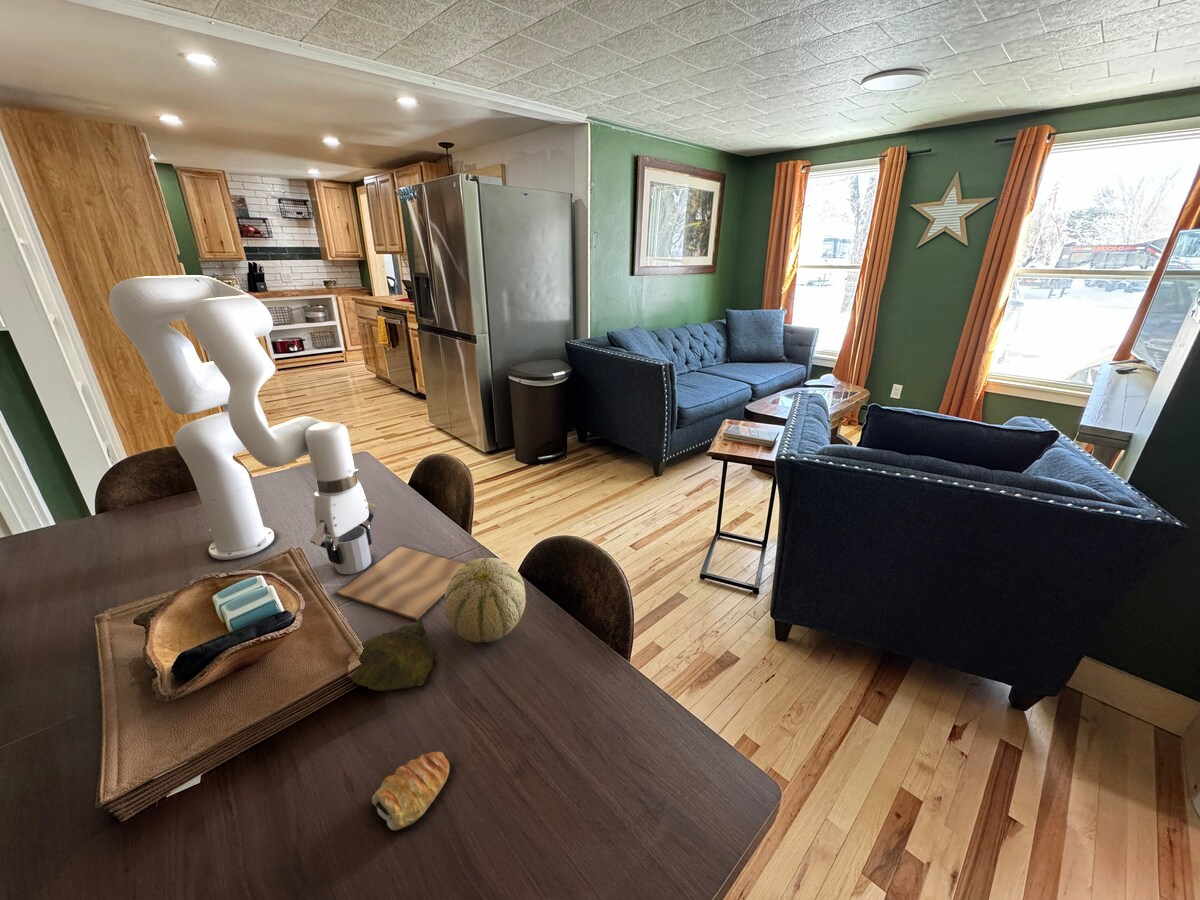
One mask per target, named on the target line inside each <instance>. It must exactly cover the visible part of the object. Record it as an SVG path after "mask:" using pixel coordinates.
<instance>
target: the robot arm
mask: <svg viewBox="0 0 1200 900" xmlns="http://www.w3.org/2000/svg"><path fill="white" fill-rule="evenodd" d="M108 296H109V297H108V304H109V309H110V312H111V315H112V317H113V319H114V321H115V322H116V323H115V324H117V326H118V327H119V329H120V330H121V332H122V333H123V334H124V335H125V336H126V337H127V338H128V340H129V341H130V342H131V344H132V345H133V346H134V348H135V349H136V351H137V352H138V354H139V355H140V357H141V359H142V361H143V363H144V365H145V367H146V369H147V371H148V374H149V375H150V377H151V379H152V381H153V383H154V385H155V387H156V390H157V391H158V393H159V395H160V397H161V399H162V400H163V402H164V403H165V405H166V406H167V407H168V409H169V410H171V412H174V413H176V414H178V415H190V414H191V415H192V414H197V413H200V412H204V411H207V410H211V409H215V408H218V407H222V409H223V410H224V411H220V412H217V413H214V414H210V415H206V416H203V417H200V418H197V419H195V420H192V421H189V422H187V423H185V424H183V425H182V426H181V427H180V428H178V430H177V431H176V432H175V434H174V445H175V447H176V449H177V451H178V453H179V455H180V456H181V458H182V459H183V461H184V463H185V464H186V466H187V468H188V470H189V472H190V475H191V477H192V479H193V482H194V484H195V487H196V491H197V493H198V496H199V499H200V502H201V505H202V508H203V510H204V511H203V512H204V514H205V517H206V520H207V523H208V526H209V528H208V530H207V532H208V533H210V534H211V535H212V537H213V541H212V543H211V544H210V545H209V547H208V553H209V555H210V557H212V558H213V559H216V560H222V561H223V560H225V561H226V560H228V561H229V560H236V559H241V558H245V557H248V556H251V555H254V554H256V553H258V552H260V551H262V550H264V549H265V548H267V547H269V546H270V545H271V544H272V543H273V541H274V539H275V533H274V531H273V530H272V529H271V528H269V527H266V526H265V525H264V523H263V519H262V516H261V512H260V508H259V506H258V502H257V498H256V495H255V491H254V487H253V484H252V480H251V478H250V475H249V472H248V470H247V469H246V468H245V466H243V465H241V464H240V463H239V462H238V461H236V460H235V459H234V456H235V455H237V454H239V453H241V452H244V451H247V452H248V453H249V454H250V456H251V457H252V458H253V459H254V460H256V461H257V462H258V463H259V464H261V465H262V466H264V467H267V468H280V467H283V466H286V465H287V464H289V463H292V462H294V461H295V460H298V459H300V458H302V457H305V456H309V460H310V465H311V469H312V473H313V477H314V482H315V486H316V491H315V492H314V493H313V515H314V522H315V526H316V529H315V531H314V533H313V534H312V536H311V538H310V540H309V542H310V543H311V544H313V545H316V546H317V547H319V548H320V547H321V548H323V549H326V553H327V557H328V560H329V562H330V563H332V564H334V563H336V564H339V565H341V564H342V563H343V558H342V554H341V549H340V548H338V547H337V546H338V542H339V538H340V536H341V535H343V534H345V533H346V532H348V531H350V530H351V529H353V528H355V527H356V526H362V527H364V528H365V529H366V532H367V538H368V543H369V546H370V545H372V544H373V542H372V535H371V531H370V529H371V528H372V521H373V520H374V519H373V518H374V514H375V513H376V510H377V509H376V508H377V504H373V503H369V502H368V501H367V498H366V494H365V492H364V489H363V486H362V484H361V482H360V481H359V480H358V478H357V473H359V468H358V467H356V466H355V462H354V457H353V451H352V446H351V442H350V441H351V440H350V436H349V431H348V428H347V427H346V426H345V424H343V423H342V422H336V421H323V420H321V419H318V418H317V417H316V418H315V417H312V416H308V415H307V416H305V415H304V416H298V417H296V418H293V419H291V420H288V421H285V422H282V423H279V424H276V425H273V426H272V427H269V423H268V422H269V421H268V420H267V417H266V415H265V413H264V410H263V408H262V405H261V404H260V401H259V398H258V394H259V391H260V390H261V388H262V386H263V385H264V384H265V383H266V382H268V381H269V380H270V379H271V378H272V377H273V376H274V375H275V373H276V365H275V363H274V361H272V359H271V358H270V356H269V355H268V353H267V352H266V351H265V349H264V347H263V346H262V345H261V343H260V342H259V340H258V338H262V337H265V336H267V335H269V334H270V333H271V332H272V330H273V327H274V320H273V316H272V313H271V312H270V311H269V309H268V307H266V305H265V304H264V303H263V302H262V301H260V300H259V299H257V298H256V297H255V296H253V295H251V294H249V293H248V292H246V291H243V290H241V289H239V288H237V287H234V286H232V285H229V284H228V283H225V282H223V281H221V280H218V279H216V278H213V277H210V276H207V275H200V274H199V275H197V274H196V275H195V274H193V275H190V274H189V275H152V276H151V275H149V276H137V277H131V278H127V279H124V280H121V281H119V282H117V283H116V284H115V285H113V287H112V288H111V289H110V292H109V295H108ZM175 322H185V323H186V325H187V327H188V329H189V330H190V332H191V333H192V334H193V336H194V337H195V338H196V340H197V342H199V344H200V345H201V347H202V348H203V350H204V351H205V352H206V354H207V355H208V357H209V358H210V360H211V361H206V362H203V361H202V360H201V358H200V357H199V355H198V353H197V351H196V348H195V346H194V344H193V343H192V342H191V341H190V339H189V338H188V337H187V336H186V335H184V334H183V333H182V332H181V331H179V330H177V328H175V327H174V326H171V325H170V323H175ZM323 537H324V538H323ZM331 537H332V538H333V540H332V544H331V543H330V540H331Z"/></svg>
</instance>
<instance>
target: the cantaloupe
mask: <svg viewBox="0 0 1200 900" xmlns="http://www.w3.org/2000/svg"><path fill="white" fill-rule="evenodd" d="M464 564H465V565H464V566H463V567H461V568H460V569H459V570H458V571H457V572H456V574H455V575H454V576H453V578H452V579H451V581H450V583H449V584H448V586H447V589H446V593H445V594H444V601H443V603H444V615H445V619H446V621H447V623H448V624H449V626H450V628H451V630H452V631H453V632H454V633H456V634H457V635H459V636H460V637H461V638H463V639H465V640H467V641H470V642H473V643H483V642H484V643H488V642H495V641H497V640H501V638H504V637H506V636H507V635H509V633H511V632H512V631H513V630H514V629H515V628H516V626H517V625H518V623H519V622H520V620H521V618H522V617H523V614H524V612H525V608H526V603H527V602H526V601H527V600H526V599H527V597H526V587H525V582H524V580H523V577H522V575H521V573H520V572H519V571H518V570H517V569H516V568H515V567H514V566H513V565H512V564H510V563H509V562H507V561H505V560H503V559H500V558H497V557H480V558H476V559H472V560H470V561H469V562H466V563H464Z"/></svg>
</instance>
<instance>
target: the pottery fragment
mask: <svg viewBox="0 0 1200 900" xmlns="http://www.w3.org/2000/svg"><path fill="white" fill-rule="evenodd" d="M361 644H362V646H363V648H364V649H363V652H362V654H361V655H360V658H359V661H360V663H361V665H360V667H359V668H358V669H357V671H356V672H355V674H354V675H353V676H352V677H351V678H350V679H351V681H352V682H353V683H354V684H357V685H358V686H362V687H365V688H367V689H369V690H373V691H375V692H379V691H381V692H385V691H386V692H387V691H388V692H389V691H396V690H398V689H399V690H401V689H404V690H405V689H410V688H414V687H422V686H423V685H424V684H425V682H426V680H427V679H428V678H427V677H428V674H429V673H430V672H431V670H432V669H433V666H434V658H435V655H434V650H433V649H432V646H431V644H430V641H429V642H428V637H427V631H426V628H425V625H424V623H423V620H422V619H420V620H417V621H416V622H413V623H409V624H406V625H403V626H401V627H399V628H397V629H394V630H390V631H387V632H384V633H380V634H379V635H375V636H373V637H372V638H369V639H368V640H366V641H363V642H362V643H361Z"/></svg>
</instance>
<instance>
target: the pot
mask: <svg viewBox="0 0 1200 900" xmlns="http://www.w3.org/2000/svg"><path fill="white" fill-rule="evenodd" d="M332 540H333V538H332V537H331V540H330V543H331V544H332ZM337 547H338V548H340V549H341V554H342V558H343V563H342V564H341V565H339V564H336V563H333V564H334V568H335V570H336V572H337V573H338V574H342V575H353V574H357V573H360V572H362V571H364V570H366V569H367V568H369V566H370V565H371V564H372V561H373V560H372V555H371V549H370V545H369V543H368V538H367V532H366V529H365V528H364V527H362V526H356V527H355V528H353V529H351V530H350V531H348V532H346V533H345V534H343V535H341V536H340V538H339V542H338V546H337Z"/></svg>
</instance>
